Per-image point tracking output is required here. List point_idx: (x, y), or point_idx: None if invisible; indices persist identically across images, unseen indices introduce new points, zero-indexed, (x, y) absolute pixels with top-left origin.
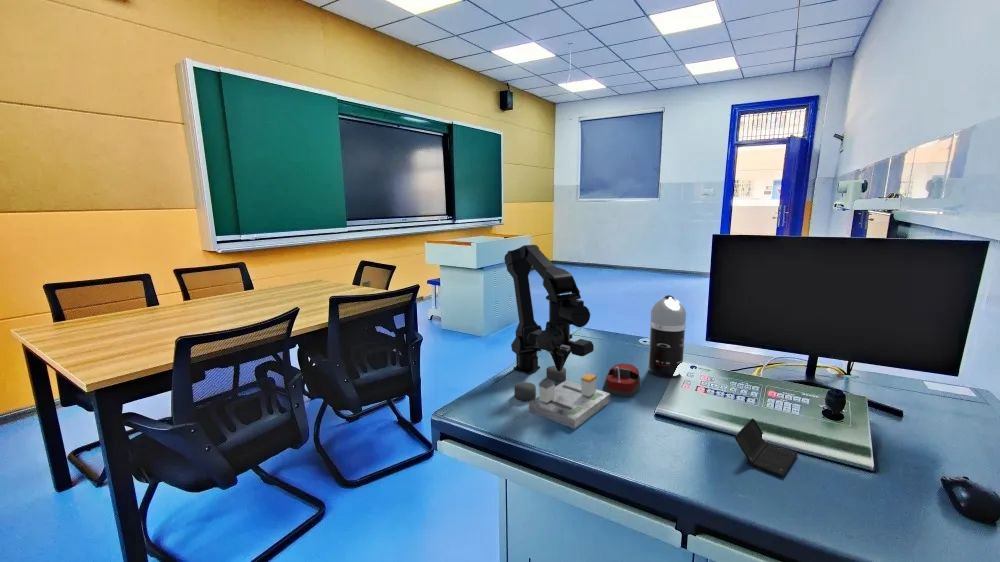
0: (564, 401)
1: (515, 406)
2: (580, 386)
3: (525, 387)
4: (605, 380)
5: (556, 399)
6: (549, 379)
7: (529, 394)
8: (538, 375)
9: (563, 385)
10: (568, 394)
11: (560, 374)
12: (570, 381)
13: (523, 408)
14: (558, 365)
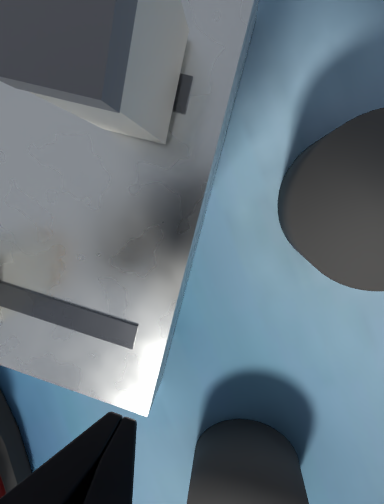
0: (41, 128)
1: (370, 36)
2: (47, 360)
3: (378, 193)
4: (13, 474)
5: (95, 131)
6: (64, 90)
7: (312, 147)
8: (355, 481)
9: (132, 340)
10: (61, 236)
11: (204, 475)
12: (120, 405)
13: (304, 39)
14: (76, 471)
